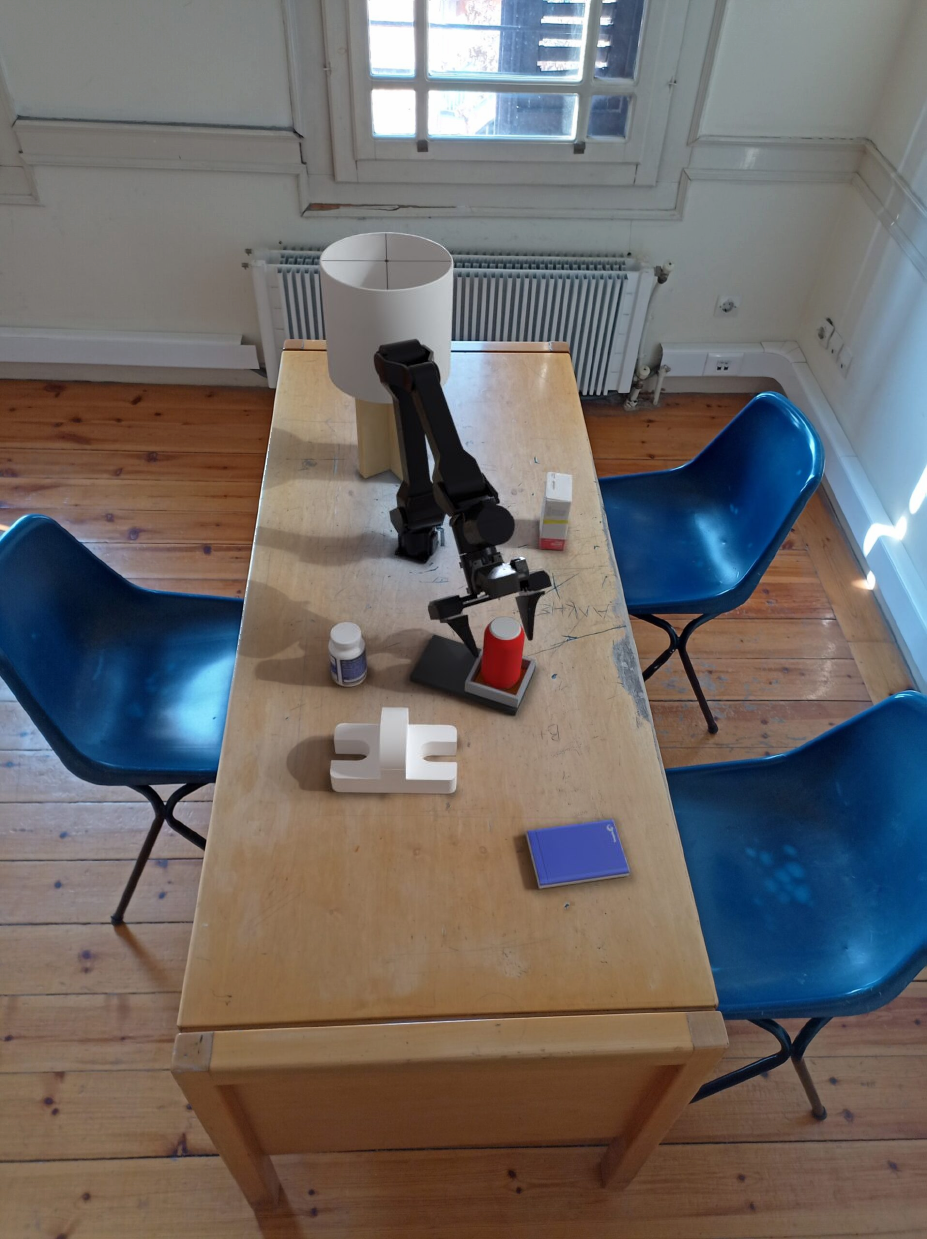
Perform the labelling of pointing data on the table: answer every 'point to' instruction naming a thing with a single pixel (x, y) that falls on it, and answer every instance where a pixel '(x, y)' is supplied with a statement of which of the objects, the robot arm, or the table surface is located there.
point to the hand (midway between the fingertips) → (504, 649)
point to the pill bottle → (347, 654)
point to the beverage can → (502, 653)
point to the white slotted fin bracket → (394, 756)
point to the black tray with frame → (467, 675)
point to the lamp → (382, 325)
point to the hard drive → (577, 853)
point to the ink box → (555, 511)
